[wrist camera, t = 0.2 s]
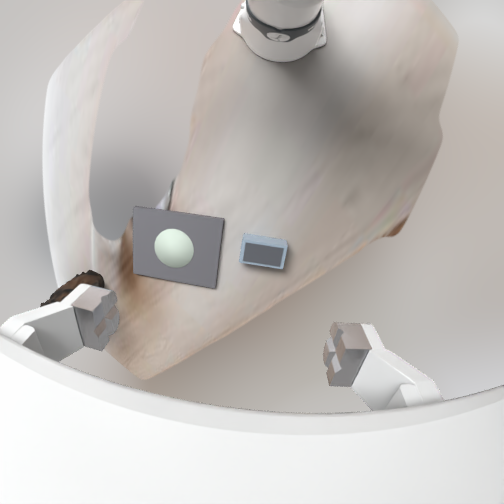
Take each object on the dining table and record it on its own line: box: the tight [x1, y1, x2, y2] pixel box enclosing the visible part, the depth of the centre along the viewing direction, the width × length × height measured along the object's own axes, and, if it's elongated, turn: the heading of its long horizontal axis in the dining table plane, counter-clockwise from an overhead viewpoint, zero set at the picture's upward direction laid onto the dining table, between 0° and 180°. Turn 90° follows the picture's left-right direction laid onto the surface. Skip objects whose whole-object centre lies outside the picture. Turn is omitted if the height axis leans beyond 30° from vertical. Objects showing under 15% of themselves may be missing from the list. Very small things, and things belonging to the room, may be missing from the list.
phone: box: [239, 233, 288, 269], centre depth 58 cm, size 5×9×4 cm, turn 81°
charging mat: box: [133, 206, 224, 288], centre depth 59 cm, size 16×20×1 cm
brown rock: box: [40, 270, 104, 307], centre depth 56 cm, size 13×13×20 cm
